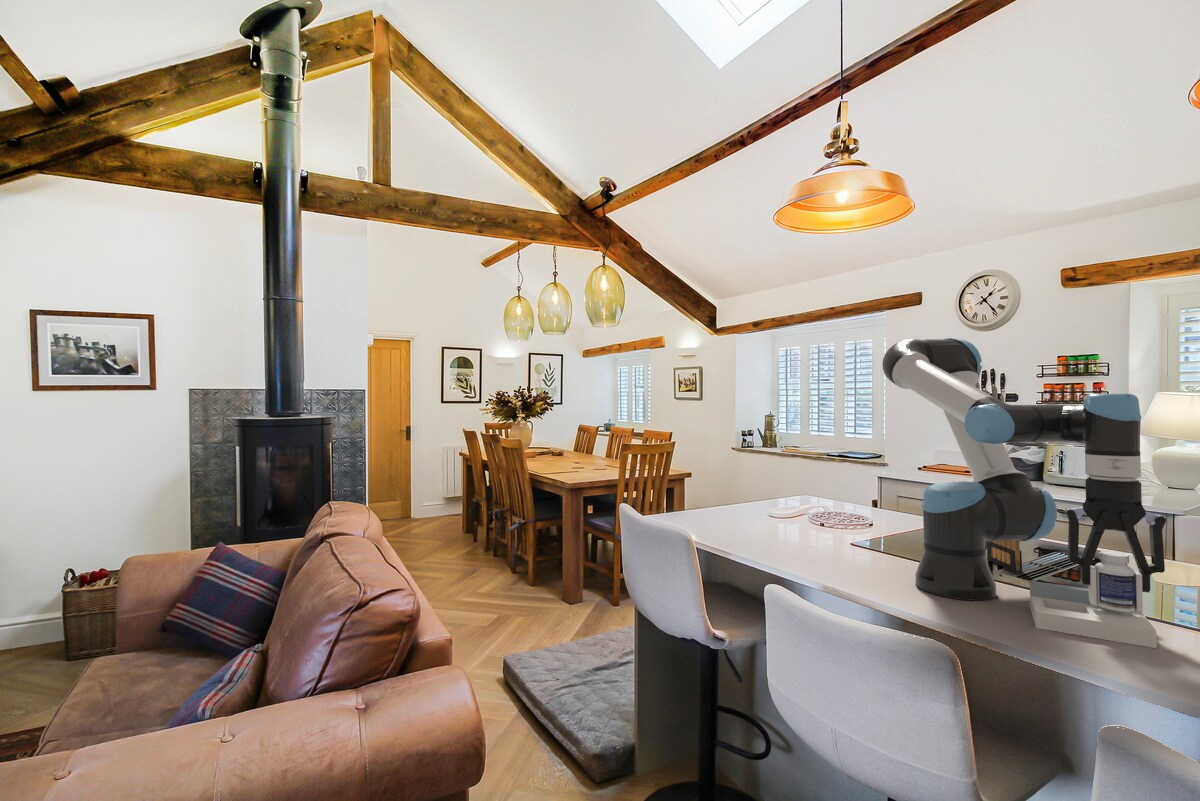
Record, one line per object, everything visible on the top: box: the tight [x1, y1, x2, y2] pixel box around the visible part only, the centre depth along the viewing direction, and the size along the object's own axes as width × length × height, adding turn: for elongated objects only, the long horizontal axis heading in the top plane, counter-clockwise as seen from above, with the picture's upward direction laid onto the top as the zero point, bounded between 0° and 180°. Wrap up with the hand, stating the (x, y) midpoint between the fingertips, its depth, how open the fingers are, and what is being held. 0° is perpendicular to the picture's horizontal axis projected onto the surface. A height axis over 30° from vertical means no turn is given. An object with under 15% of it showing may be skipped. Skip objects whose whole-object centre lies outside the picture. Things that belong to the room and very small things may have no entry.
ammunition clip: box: [986, 541, 1023, 573], centre depth 142 cm, size 11×2×12 cm, turn 177°
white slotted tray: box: [1029, 580, 1157, 649], centre depth 103 cm, size 16×12×6 cm
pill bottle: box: [1094, 550, 1135, 612], centre depth 102 cm, size 5×5×10 cm
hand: (1114, 605), depth 102 cm, fingers closed on pill bottle, 5 cm apart
